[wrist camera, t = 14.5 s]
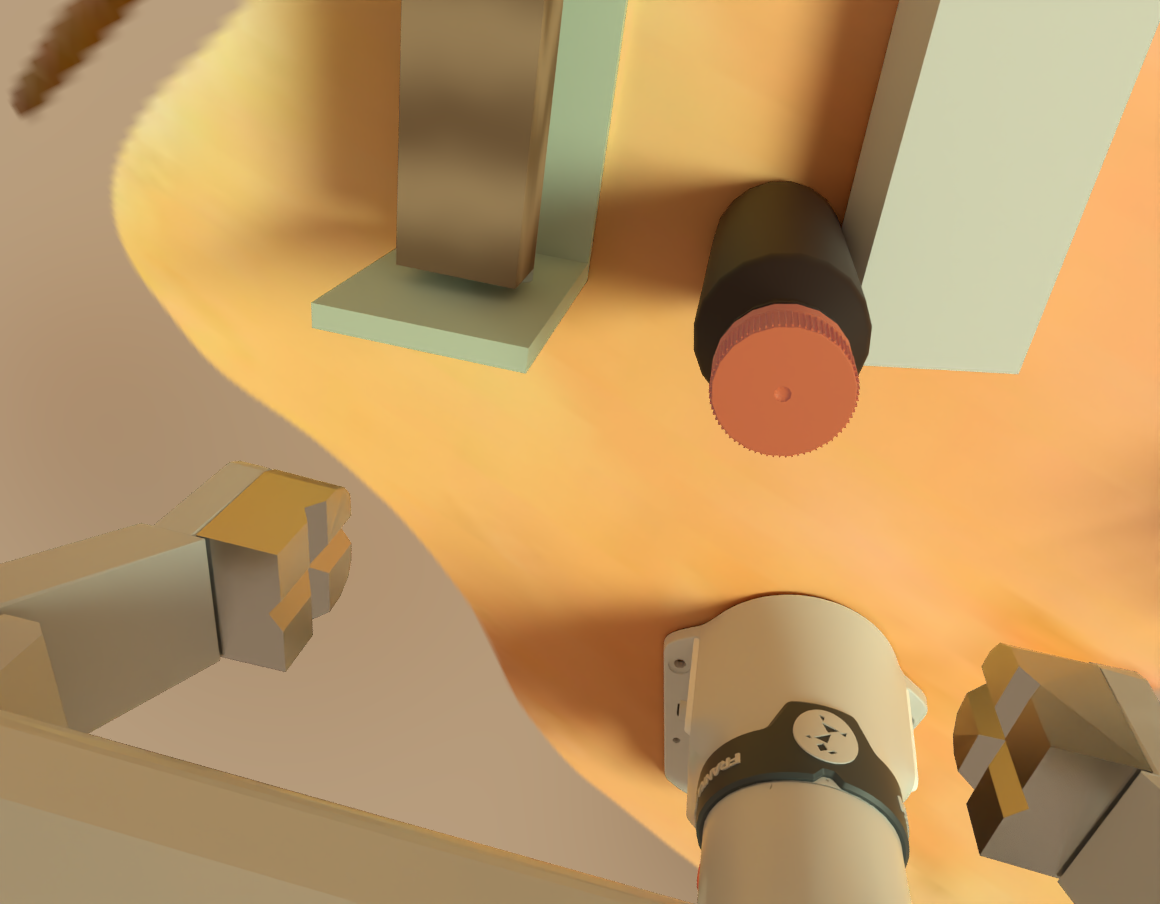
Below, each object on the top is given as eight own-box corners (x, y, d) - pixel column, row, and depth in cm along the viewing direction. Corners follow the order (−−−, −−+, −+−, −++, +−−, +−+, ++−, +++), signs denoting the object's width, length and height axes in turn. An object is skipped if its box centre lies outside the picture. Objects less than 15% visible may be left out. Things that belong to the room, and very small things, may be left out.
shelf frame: (587, 280, 47) (525, 373, 35) (425, 248, 48) (312, 327, 36) (643, -105, 37) (585, -160, 25) (440, -134, 38) (292, -200, 26)
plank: (434, -72, 34) (403, -80, 31) (569, -51, 34) (550, -57, 31) (422, 246, 41) (395, 264, 38) (533, 268, 41) (515, 289, 38)
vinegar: (726, 170, 42) (699, 279, 25) (855, 189, 42) (918, 314, 24) (703, 293, 46) (666, 462, 29) (823, 312, 45) (858, 498, 28)
